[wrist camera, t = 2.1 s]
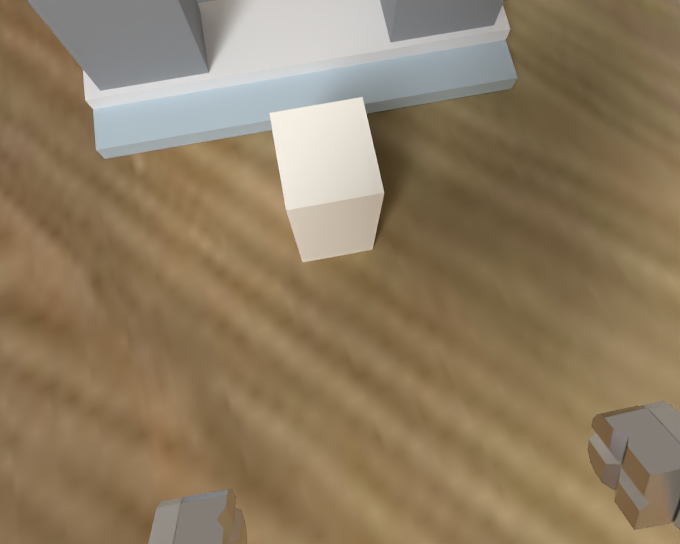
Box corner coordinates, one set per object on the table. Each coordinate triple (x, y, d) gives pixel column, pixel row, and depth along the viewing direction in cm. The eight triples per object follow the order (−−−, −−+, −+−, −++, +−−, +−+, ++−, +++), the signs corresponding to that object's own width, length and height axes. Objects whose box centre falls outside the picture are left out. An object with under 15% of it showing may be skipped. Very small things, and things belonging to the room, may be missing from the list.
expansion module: (289, 186, 32) (268, 108, 23) (356, 174, 32) (361, 92, 23) (302, 262, 30) (286, 210, 22) (372, 249, 30) (384, 192, 22)
